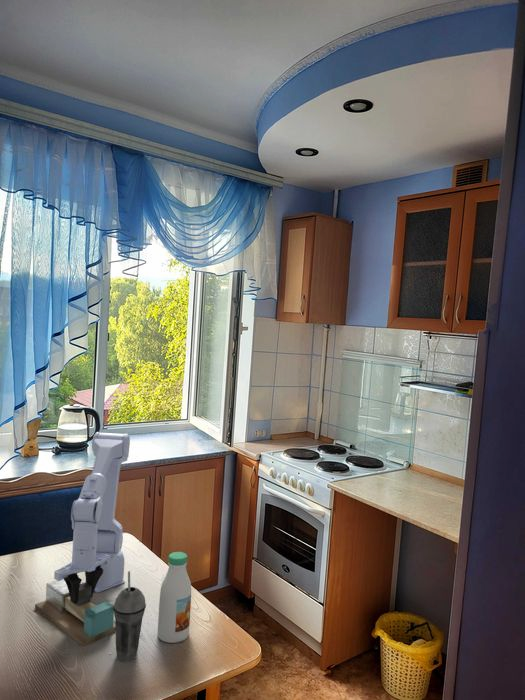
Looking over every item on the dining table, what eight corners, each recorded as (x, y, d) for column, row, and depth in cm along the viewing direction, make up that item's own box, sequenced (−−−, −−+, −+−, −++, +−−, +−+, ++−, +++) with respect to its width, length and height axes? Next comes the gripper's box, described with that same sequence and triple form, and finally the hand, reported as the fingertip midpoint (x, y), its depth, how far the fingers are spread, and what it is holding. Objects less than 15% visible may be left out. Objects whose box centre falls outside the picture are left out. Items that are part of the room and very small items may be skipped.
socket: (106, 622, 130) (107, 601, 130) (113, 627, 128) (114, 605, 128) (83, 632, 125) (85, 610, 125) (90, 637, 123) (92, 614, 123)
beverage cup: (149, 651, 121) (154, 566, 121) (131, 669, 114) (136, 579, 114) (122, 643, 124) (127, 560, 123) (103, 660, 117) (108, 572, 116)
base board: (70, 595, 144) (70, 591, 144) (119, 629, 129) (119, 624, 129) (34, 608, 136) (35, 604, 136) (83, 646, 122) (83, 641, 122)
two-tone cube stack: (66, 596, 139) (67, 570, 139) (95, 617, 130) (97, 589, 130) (53, 601, 136) (55, 575, 136) (82, 622, 127) (84, 594, 127)
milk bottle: (162, 647, 123) (167, 563, 123) (153, 629, 130) (158, 551, 130) (193, 640, 127) (198, 559, 126) (182, 623, 134) (187, 547, 133)
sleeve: (62, 595, 142) (63, 577, 141) (78, 606, 136) (79, 588, 136) (45, 601, 138) (46, 583, 138) (61, 613, 133) (62, 594, 133)
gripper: (66, 559, 123) (63, 616, 123) (118, 543, 134) (115, 595, 134) (51, 550, 127) (48, 604, 128) (102, 535, 139) (99, 585, 139)
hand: (81, 599), depth 131 cm, fingers closed on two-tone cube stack, 4 cm apart
